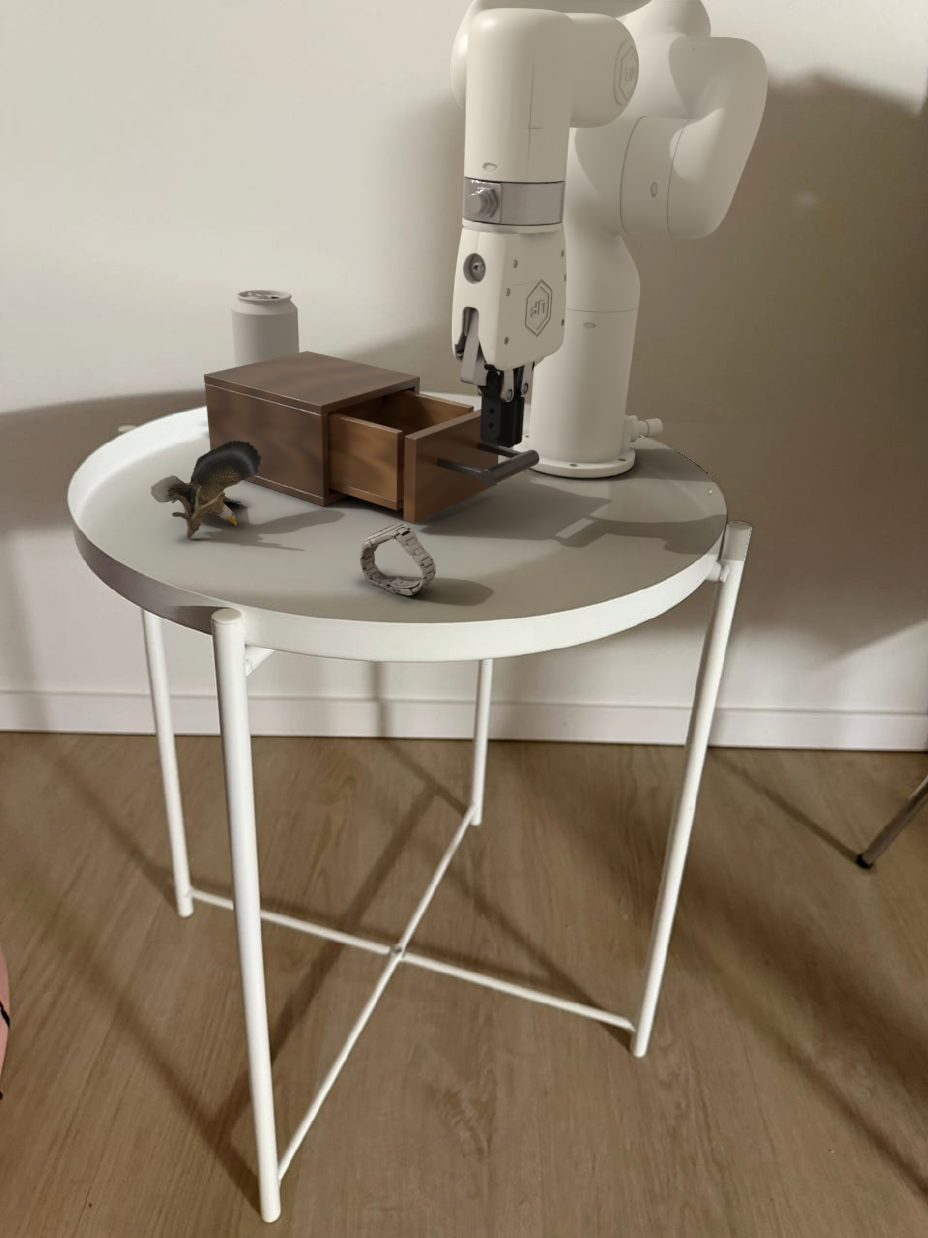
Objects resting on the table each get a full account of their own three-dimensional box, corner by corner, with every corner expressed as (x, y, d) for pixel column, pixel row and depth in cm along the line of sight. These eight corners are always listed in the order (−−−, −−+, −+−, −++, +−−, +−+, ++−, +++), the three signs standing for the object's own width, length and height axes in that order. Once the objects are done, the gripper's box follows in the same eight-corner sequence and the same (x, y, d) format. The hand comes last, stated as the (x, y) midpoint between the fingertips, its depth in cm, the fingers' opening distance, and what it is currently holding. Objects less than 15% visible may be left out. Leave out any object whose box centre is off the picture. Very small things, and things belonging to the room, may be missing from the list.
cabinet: (418, 468, 95) (420, 376, 90) (323, 506, 85) (321, 405, 80) (310, 437, 102) (307, 350, 98) (211, 468, 92) (203, 374, 88)
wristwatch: (378, 569, 74) (378, 509, 72) (443, 592, 71) (445, 530, 69) (348, 585, 71) (347, 522, 69) (414, 609, 68) (416, 545, 66)
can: (305, 404, 113) (301, 298, 107) (240, 406, 111) (232, 299, 105) (296, 387, 119) (292, 286, 113) (234, 389, 117) (227, 287, 111)
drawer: (551, 500, 86) (558, 421, 83) (472, 542, 77) (476, 455, 74) (385, 452, 96) (385, 379, 92) (297, 485, 87) (294, 405, 83)
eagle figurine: (256, 532, 76) (283, 475, 83) (197, 463, 73) (230, 409, 80) (186, 568, 79) (217, 510, 86) (126, 503, 76) (163, 448, 83)
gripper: (499, 219, 64) (487, 478, 73) (605, 202, 75) (583, 430, 84) (411, 208, 68) (410, 455, 77) (524, 193, 78) (511, 412, 87)
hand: (500, 441), depth 80 cm, fingers closed
